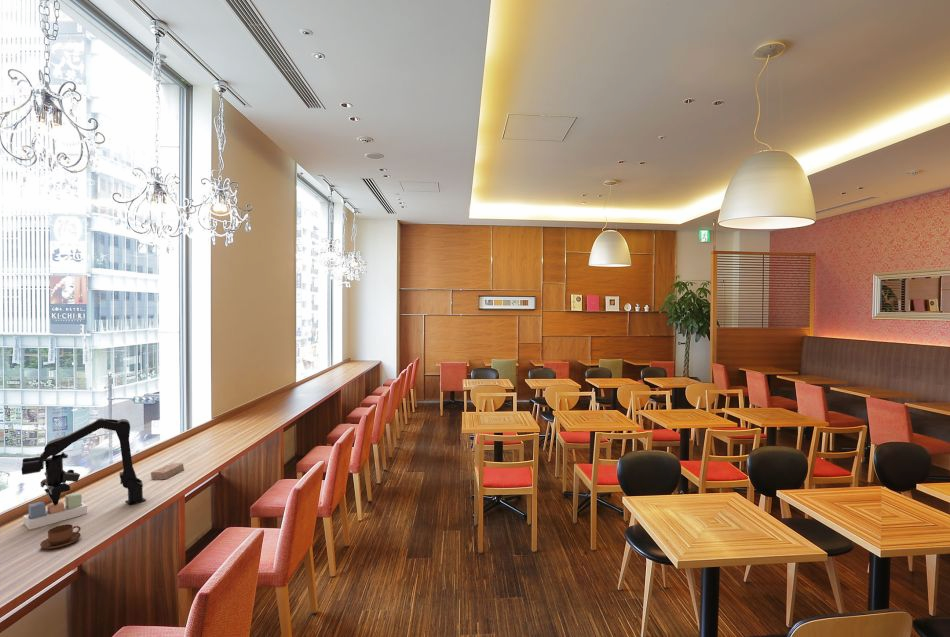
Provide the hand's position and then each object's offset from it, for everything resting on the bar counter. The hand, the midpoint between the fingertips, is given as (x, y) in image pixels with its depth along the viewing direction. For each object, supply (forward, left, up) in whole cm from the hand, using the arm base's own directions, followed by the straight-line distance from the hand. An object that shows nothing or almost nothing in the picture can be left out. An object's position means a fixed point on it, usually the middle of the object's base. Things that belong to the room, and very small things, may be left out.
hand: (55, 504), depth 211 cm
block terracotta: (0, 0, -6) cm, 6 cm away
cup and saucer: (-32, +6, -7) cm, 33 cm away
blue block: (0, +6, -4) cm, 7 cm away
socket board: (0, 0, -6) cm, 6 cm away
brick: (+22, -53, -7) cm, 57 cm away
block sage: (0, -6, -4) cm, 7 cm away
